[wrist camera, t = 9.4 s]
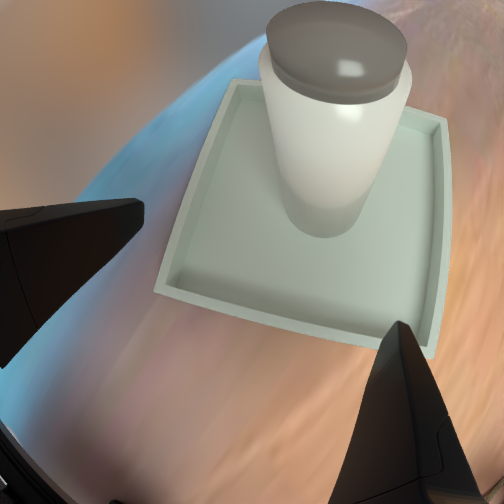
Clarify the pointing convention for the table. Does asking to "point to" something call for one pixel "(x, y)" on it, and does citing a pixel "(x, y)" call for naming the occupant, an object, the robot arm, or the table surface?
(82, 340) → the table surface
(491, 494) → the slingshot
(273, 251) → the bin
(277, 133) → the jar with lid
